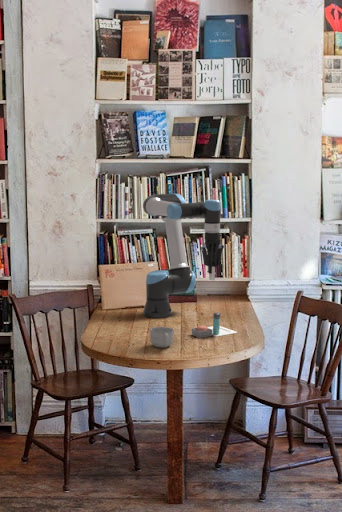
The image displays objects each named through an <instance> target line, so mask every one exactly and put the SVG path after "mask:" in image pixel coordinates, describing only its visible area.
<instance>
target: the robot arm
mask: <svg viewBox="0 0 342 512" xmlns="http://www.w3.org/2000/svg"><path fill="white" fill-rule="evenodd" d="M142 208H143V211H144V212H145V213H146V214H147V215H148V216H152V217H161V221H163V222H164V224H165V231H166V239H167V248H168V254H169V255H168V256H169V262H170V267H169V268H168V270H166V269H158V270H157V269H156V270H153V271H150V272H148V273H147V275H146V277H145V278H146V279H145V284H146V286H145V287H146V289H145V292H146V295H145V296H146V297H145V298H146V300H145V303H144V308H143V313H142V315H143V317H146V318H152V319H155V318H156V319H163V318H168V317H171V316H172V312H173V311H172V307H171V304H170V302H169V295H175V294H176V295H179V294H186V293H190V292H192V291H193V290H194V289H195V286H196V282H197V281H196V274H195V272H194V271H193V270H191V267H190V266H189V265H188V264H187V257H186V250H185V243H184V235H183V227H182V226H183V225H182V220H183V219H197V218H198V219H204V244H203V245H202V246H200V251H201V253H202V258H203V264H204V266H205V267H207V273H208V280H211V281H215V280H216V273H217V267H218V266H219V265H220V263H221V258H222V253H223V249H224V247H225V245H223V244H222V243H221V242H220V240H221V202H220V200H219V199H205V201H197V202H188V203H187V202H186V199H185V198H184V196H182V194H179V193H173V192H172V193H160V194H159V193H156V194H151V195H149V196H148V197H147V196H146V198H145V199H144V200H143V202H142Z"/></svg>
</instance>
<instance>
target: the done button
mask: <svg viewBox="0 0 342 512" xmlns="http://www.w3.org/2000/svg"><path fill="white" fill-rule="evenodd" d="M207 327H208V326H205V325H198V326H196V328H197V330H199V331H205V330H207Z"/></svg>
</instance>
